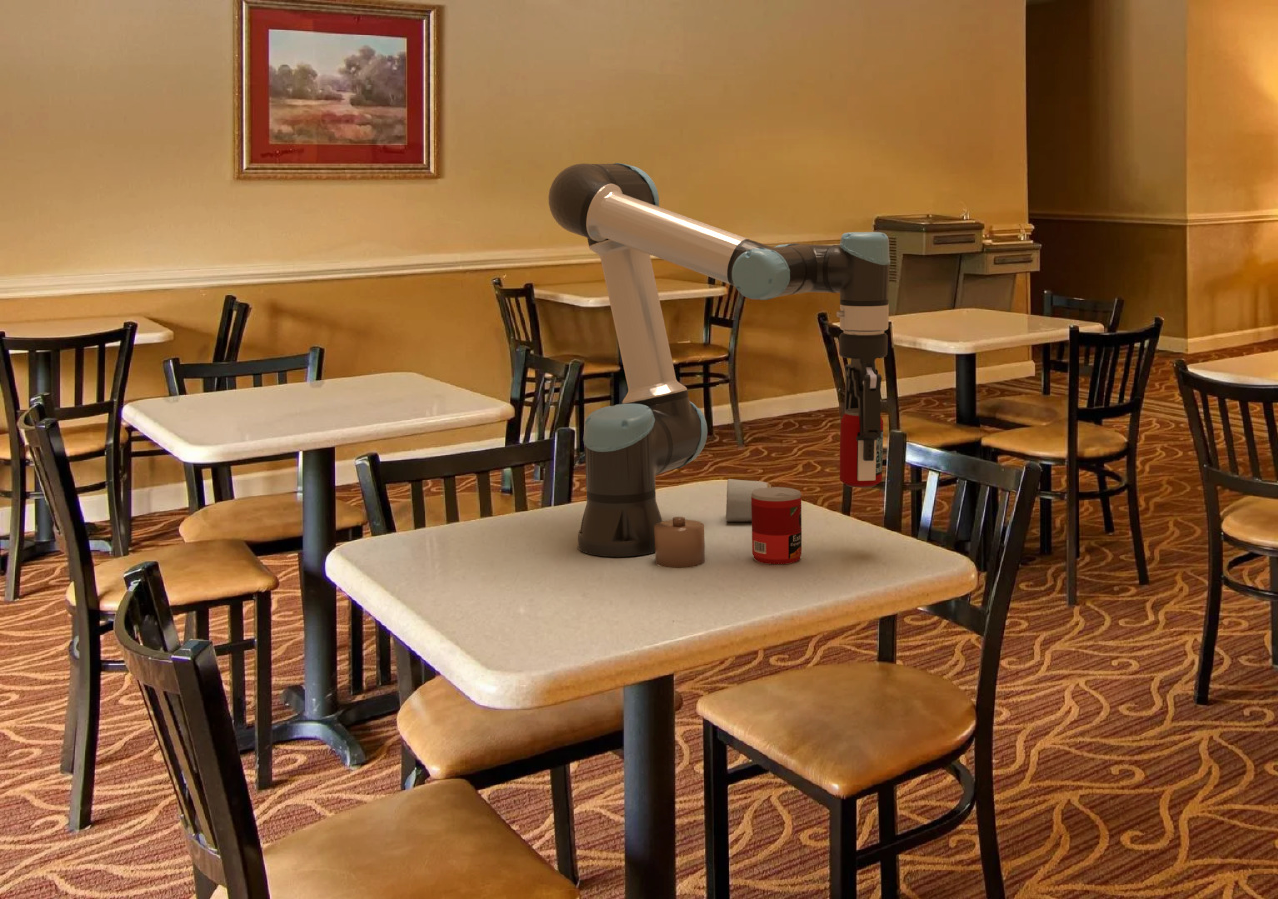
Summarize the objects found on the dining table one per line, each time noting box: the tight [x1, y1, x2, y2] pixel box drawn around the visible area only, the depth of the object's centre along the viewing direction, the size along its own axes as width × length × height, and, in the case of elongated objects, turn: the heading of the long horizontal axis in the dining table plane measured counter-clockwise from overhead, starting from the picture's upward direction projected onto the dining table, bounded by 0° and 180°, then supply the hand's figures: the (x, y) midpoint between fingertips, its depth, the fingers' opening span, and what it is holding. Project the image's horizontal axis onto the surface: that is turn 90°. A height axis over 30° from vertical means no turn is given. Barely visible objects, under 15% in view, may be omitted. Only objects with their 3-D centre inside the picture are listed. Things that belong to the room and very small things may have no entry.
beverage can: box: [839, 408, 884, 489], centre depth 210 cm, size 7×7×12 cm
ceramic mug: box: [725, 478, 772, 523], centre depth 238 cm, size 11×8×8 cm
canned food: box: [751, 486, 803, 565], centre depth 211 cm, size 8×8×11 cm
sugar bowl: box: [654, 516, 706, 569], centre depth 212 cm, size 8×8×7 cm
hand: (860, 474), depth 211 cm, fingers closed on beverage can, 7 cm apart
